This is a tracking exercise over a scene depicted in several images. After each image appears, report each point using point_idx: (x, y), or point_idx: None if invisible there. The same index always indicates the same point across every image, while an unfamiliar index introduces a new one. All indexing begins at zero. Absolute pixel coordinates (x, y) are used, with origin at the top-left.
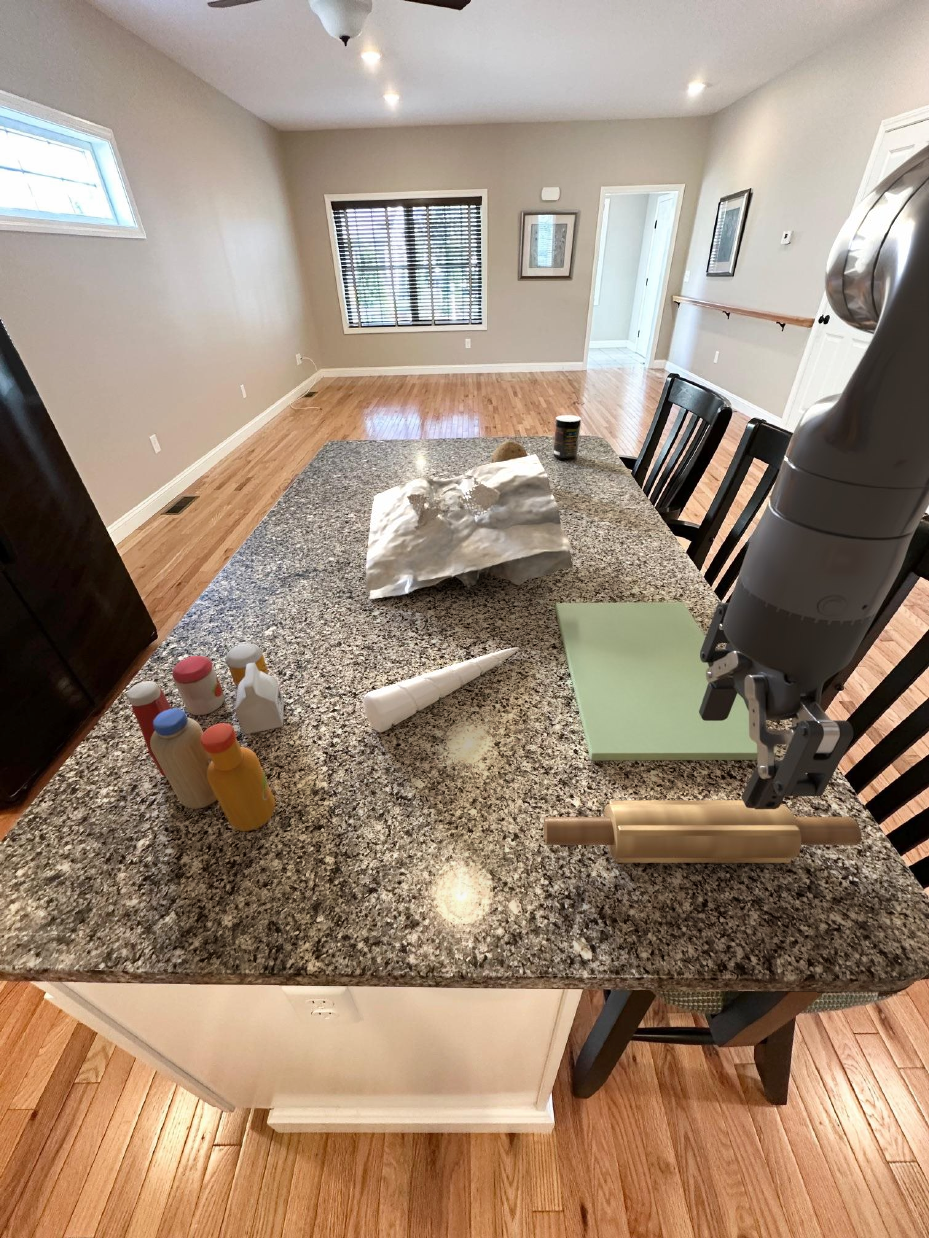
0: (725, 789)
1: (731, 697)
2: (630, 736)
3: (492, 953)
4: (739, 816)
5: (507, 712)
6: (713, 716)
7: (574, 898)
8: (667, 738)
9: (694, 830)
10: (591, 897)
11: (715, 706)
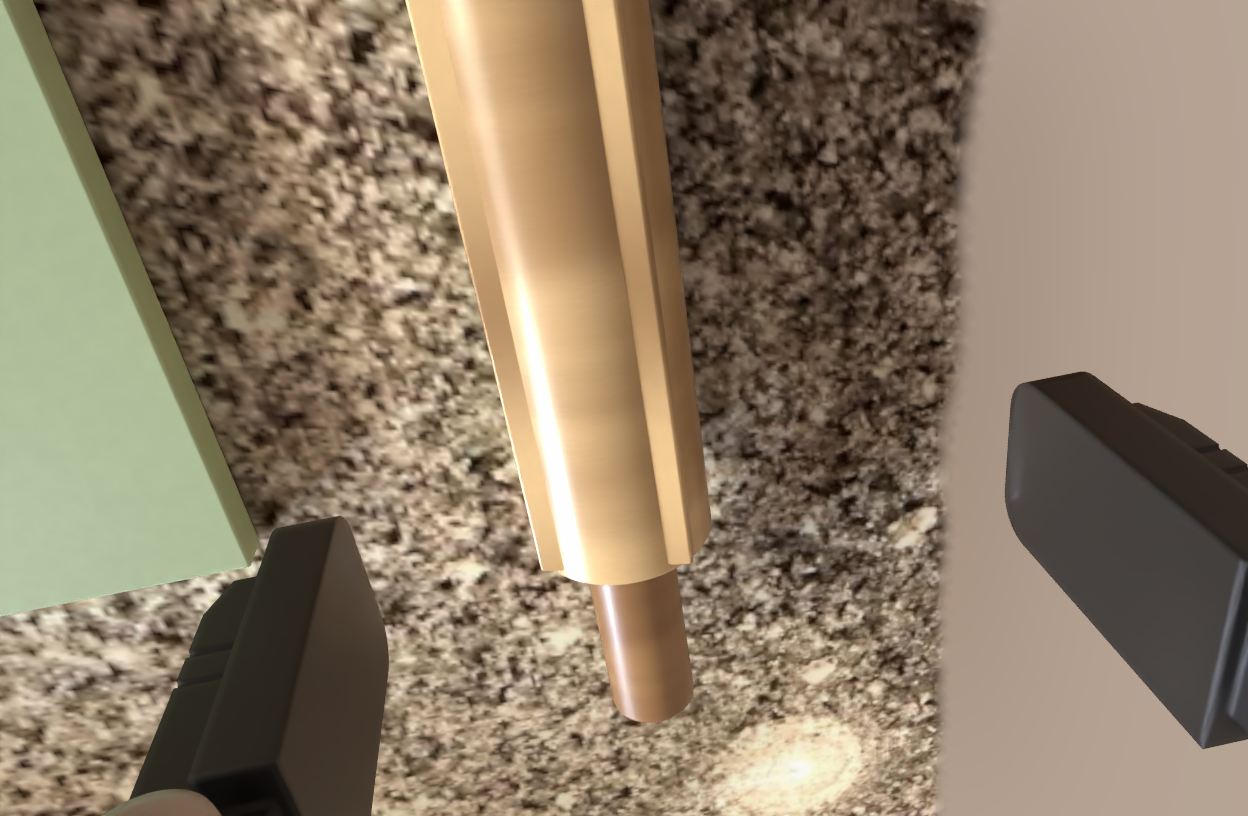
0: (229, 4)
1: (310, 700)
2: (83, 432)
3: (922, 692)
4: (557, 113)
5: (118, 804)
6: (365, 611)
7: (789, 552)
8: (18, 271)
9: (659, 320)
10: (784, 514)
11: (358, 699)
